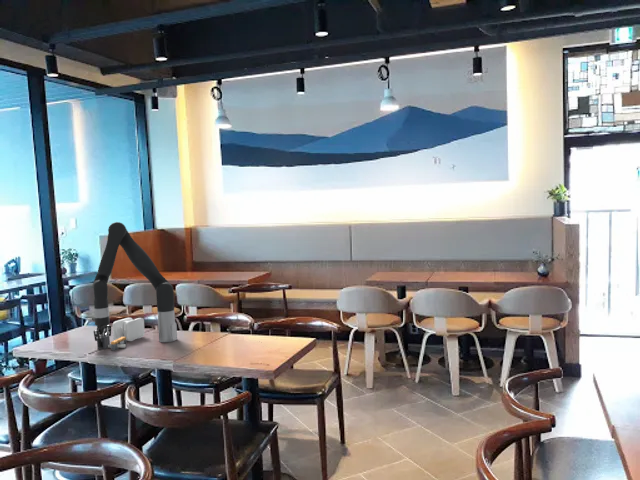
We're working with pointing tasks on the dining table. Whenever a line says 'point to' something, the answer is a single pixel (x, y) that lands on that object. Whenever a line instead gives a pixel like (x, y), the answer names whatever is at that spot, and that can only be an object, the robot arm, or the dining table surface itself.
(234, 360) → the dining table surface
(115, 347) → the tie bracket
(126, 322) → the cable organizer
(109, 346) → the lead
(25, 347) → the dining table surface
